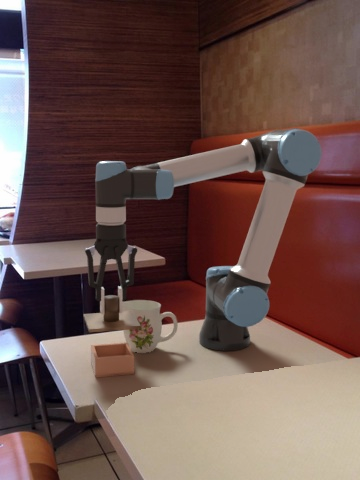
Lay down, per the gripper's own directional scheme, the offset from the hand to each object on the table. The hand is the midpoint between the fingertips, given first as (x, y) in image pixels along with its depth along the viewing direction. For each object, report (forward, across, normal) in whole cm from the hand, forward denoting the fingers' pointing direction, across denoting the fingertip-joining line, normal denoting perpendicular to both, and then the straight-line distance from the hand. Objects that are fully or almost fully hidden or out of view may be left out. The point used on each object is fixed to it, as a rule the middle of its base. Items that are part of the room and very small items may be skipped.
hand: (111, 312), depth 153 cm
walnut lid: (+3, 0, 0) cm, 3 cm away
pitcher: (+16, -12, -12) cm, 23 cm away
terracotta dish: (+15, 0, 0) cm, 15 cm away
